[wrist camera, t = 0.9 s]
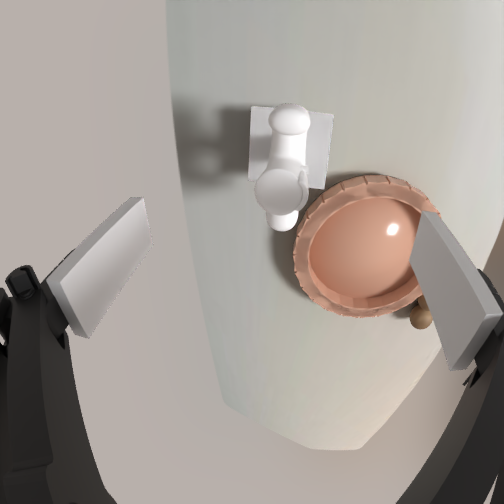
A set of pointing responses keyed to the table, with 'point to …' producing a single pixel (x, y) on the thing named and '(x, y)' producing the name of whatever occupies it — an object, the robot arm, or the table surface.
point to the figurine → (287, 159)
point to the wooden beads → (421, 314)
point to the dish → (361, 246)
